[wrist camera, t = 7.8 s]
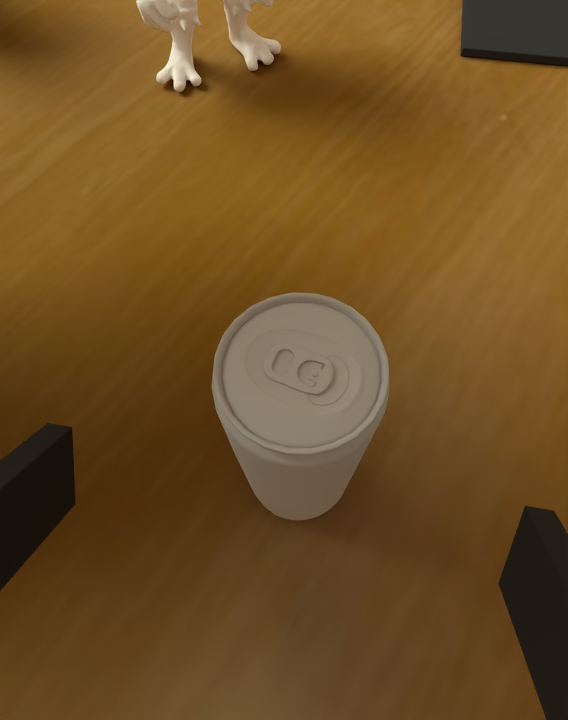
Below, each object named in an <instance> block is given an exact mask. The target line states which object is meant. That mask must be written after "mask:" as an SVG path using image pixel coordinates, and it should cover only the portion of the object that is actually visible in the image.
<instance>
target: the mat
mask: <svg viewBox="0 0 568 720" xmlns="http://www.w3.org/2000/svg"><path fill="white" fill-rule="evenodd" d="M461 56H470V57H480V58H491V59H501V60H512V61H522V62H532V63H543V64H553V65H564V66H568V0H463V11H462V34H461Z"/></svg>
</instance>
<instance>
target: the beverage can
mask: <svg viewBox="0 0 568 720" xmlns="http://www.w3.org/2000/svg"><path fill="white" fill-rule="evenodd" d="M212 392H213V397H214V403H215V408H216V412H217V414H218V416H219V419H220V421H221V423H222V425H223V428H224V430H225V432H226V435H227V437H228V439H229V442H230V444H231V446H232V448H233V451H234V453H235V455H236V457H237V459H238V461H239V464H240V466H241V468H242V469H243V471H244V473H245V476H246V478H247V480H248V482H249V484H250V486H251V488H252V490H253V492H254V494H255V496H256V497H257V498H258V499H259V501H260V502H261V503H262V504H263V506H264V507H265V508H267V509H268V510H269V511H271V512H272V513H273V514H275V515H276V516H279V517H282V518H285V519H288V520H307V519H311V518H315V517H318V516H320V515H322V514H323V513H325V512H327V511H329V510H330V509H331V508H332V507H333V506H334V505H335V504H336V503H337V502H338V501H339V500H340V498H341V496H342V494H343V493H344V491H345V489H346V487H347V485H348V483H349V481H350V479H351V477H352V476H353V474H354V472H355V470H356V468H357V466H358V464H359V462H360V460H361V458H362V456H363V454H364V452H365V451H366V449H367V447H368V445H369V443H370V441H371V439H372V437H373V435H374V433H375V431H376V429H377V427H378V426H379V424H380V422H381V420H382V418H383V416H384V414H385V410H386V406H387V401H388V397H389V392H390V386H389V365H388V357H387V354H386V352H385V349H384V346H383V343H382V341H381V338H380V337H379V335H378V334H377V333H376V331H375V330H374V328H373V327H372V325H371V324H370V323H369V321H368V320H366V319H365V318H364V317H363V316H362V315H360V314H359V313H358V312H357V311H356V310H355V309H353V308H352V307H350V306H348V305H346V304H344V303H342V302H340V301H338V300H336V299H334V298H331V297H327V296H323V295H319V294H314V293H287V294H283V295H278V296H273V297H270V298H267V299H265V300H263V301H261V302H259V303H257V304H255V305H252V306H251V307H249V308H248V309H247V310H246V311H244V312H243V313H242V314H241V315H240V316H238V317H237V318H236V319H235V320H234V321H233V322H232V324H231V325H230V326H229V328H228V329H227V330H226V332H225V333H224V334H223V336H222V338H221V340H220V343H219V345H218V348H217V351H216V353H215V356H214V366H213V377H212Z"/></svg>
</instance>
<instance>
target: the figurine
mask: <svg viewBox="0 0 568 720" xmlns="http://www.w3.org/2000/svg"><path fill="white" fill-rule="evenodd" d="M222 1H223V4H224V10H225V13H226V16H227V23H228V26H229V38H230V41H231V43H232V44H233V45H234V46H235V48H236V49H238V50H239V51H240V52H241V53H242V54H243V56H244V58H245V62H246V64H247V67H248V69H249V70H250V71H255V70H257V69H258V63H257V60H261V61H262V62H263V63H264V64H265V65H270V64H271V63H272V62H273V60H274V57H273V55H272V54H271V52H272V53H273V54H278V53H279V52H280V50H281V46H280V44H279V43H278V42H277V41H275V40H270V39H265V38H263V37H260V36H259V35H257V34H256V33H255V32H254V31H253V30H251V29H250V28H249V27H248V25H247V15H248V14H249V12H250V13H252V10H251V9H252V6H253V4H255V3H261V2H263V3H264V5H265V6H266V7H270V6H271V5H272V4H273V2H274V0H262V1H261V0H222ZM197 2H198V0H137V6H138V9H139V11H140V14H141V16H142V19H143V21H144V23H145V24H146V25H147V26H149V27H152V28H154V29H159V30H162V31H163V32H167V33H169V32H171V35H172V38H173V43H172V50H171V53H170V59H169V61H168V63H167V65H166V66H165V67H164V69H163V70H161V71H159V72H158V74H157V76H156V80H157V82H158V83H160V84H164V83H166V82H167V81H168V80H170V79H173V80H174V89H175V90H176V91H177V92H182V91H183V90H184V88H185V86H186V80H190V81H191V83H192V84H193V85H194V86H199V85H200V84H201V82H202V80H201V77H200V76H199V75H198V74H197V72H196V71H195V69H194V65H193V57H192V49H191V43H192V38H193V28H194V27H195V25H198V26H201V24H200V22H199V20H198V10H197Z"/></svg>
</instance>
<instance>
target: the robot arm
mask: <svg viewBox="0 0 568 720" xmlns="http://www.w3.org/2000/svg"><path fill="white" fill-rule="evenodd" d="M74 505H75V484H74V460H73V437H72V427H67V426H62V425H56V424H50V423H47V424H46V425H45V426H44V427H42V428H41V429H40V430H38V431H37V432H36V433H35V434H33V435H32V436H31V437H30V438H28V439H27V440H26V441H25V442H23V443H22V444H21V445H20V446H18V447H17V448H16V449H14V450H13V451H12V452H11V453H9V454H8V455H7V456H6V457H4V458H3V459H2V460H1V461H0V590H1V589H2V588H3V587H4V586H5V585H6V584H7V582H8V581H9V580H10V579H11V578H12V577H13V575H14V574H15V573H16V572H17V571H18V570H19V569H20V567H21V566H22V565H23V564H24V563H25V562H26V560H27V559H28V558H29V557H30V556H31V555H32V554H33V552H34V551H35V550H36V549H37V548H38V547H39V545H40V544H41V543H42V542H43V541H44V540H45V538H46V537H47V536H48V535H49V534H50V533H51V532H52V530H53V529H54V528H55V527H56V526H57V525H58V523H59V522H60V521H61V520H62V519H63V518H64V517H65V515H66V514H67V513H68V512H69V511H70V510H71V508H72V507H73V506H74ZM499 586H500V589H501V592H502V594H503V597H504V600H505V603H506V606H507V609H508V612H509V614H510V617H511V620H512V623H513V626H514V629H515V631H516V634H517V637H518V640H519V643H520V646H521V649H522V651H523V654H524V657H525V660H526V663H527V666H528V669H529V671H530V674H531V677H532V680H533V683H534V686H535V688H536V691H537V694H538V697H539V700H540V703H541V706H542V708H543V711H544V714H545V717H546V720H568V534H567V532H566V530H565V529H564V527H563V525H562V524H561V522H560V520H559V519H558V517H557V515H556V514H555V512H554V511H552V510H546V509H540V508H534V507H529V506H525V508H524V511H523V514H522V516H521V519H520V522H519V525H518V528H517V531H516V534H515V537H514V540H513V543H512V546H511V549H510V551H509V554H508V557H507V560H506V563H505V566H504V569H503V572H502V575H501V578H500V581H499Z"/></svg>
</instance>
